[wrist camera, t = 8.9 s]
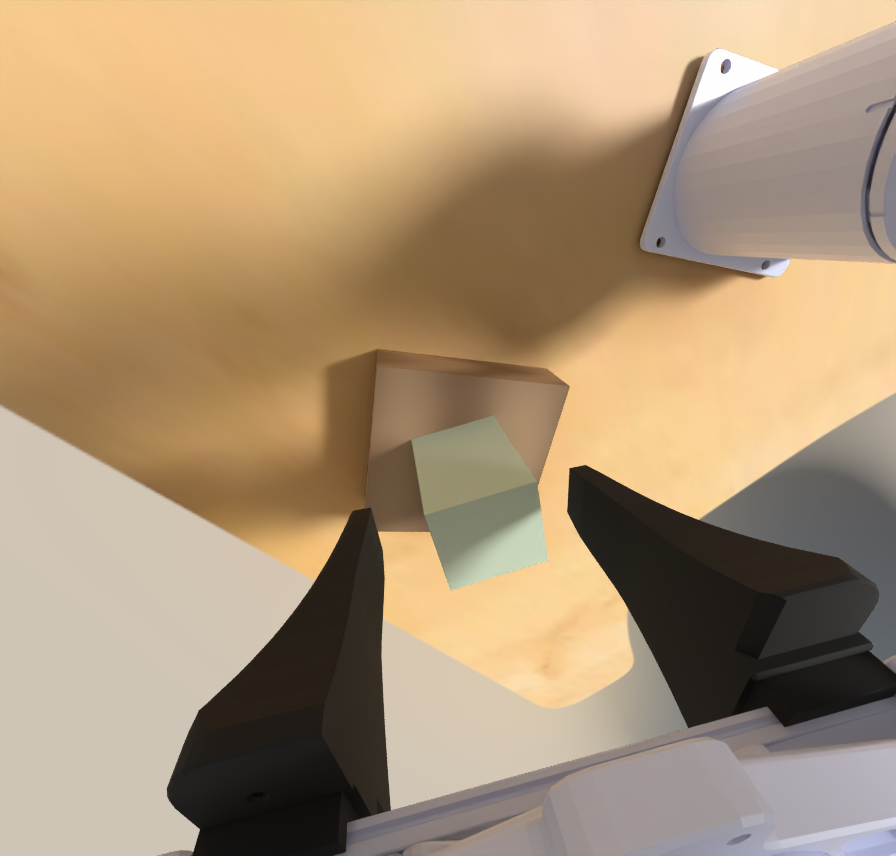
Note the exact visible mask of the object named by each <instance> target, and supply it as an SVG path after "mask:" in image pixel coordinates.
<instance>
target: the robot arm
mask: <svg viewBox="0 0 896 856" xmlns="http://www.w3.org/2000/svg"><path fill="white" fill-rule="evenodd" d="M722 63H723V65H724V71H723V73H721V71H720V67H721V64H722ZM659 238H660V240H661V242H660V245H659V246H658V247H657V245H656V243H657V240H658V239H659ZM640 247H641V249H642V250H644V251H647V252H652V253H657V254H662V255H667V256H671V257H676V258H681V259H686V260H691V261H696V262H701V263H705V264H710V265H715V266H720V267H725V268H730V269H735V270H739V271H744V272H749V273H754V274H759V275H764V276H769V277H778V276H780V275H781V274H782V273H783V272H784V271H785V269H786V268H787V266H788V264H789V262H790V260H791V259H804V260H826V261H847V262H868V263H890V264H896V21H895V22H893V23H891V24H888V25H886V26H884V27H881V28H879V29H876V30H874V31H872V32H869V33H867V34H865V35H862V36H860V37H857V38H855V39H853V40H850V41H848V42H846V43H843V44H841V45H838V46H836V47H834V48H831V49H829V50H827V51H824V52H822V53H819V54H817V55H815V56H812V57H810V58H808V59H805V60H803V61H800V62H798V63H796V64H793V65H791V66H789V67H786V68H784V69H781V70H778V69H775V68H773V67H770V66H767V65H765V64H762V63H759V62H756V61H754V60H751V59H748V58H746V57H743V56H740V55H737V54H735V53H732V52H729V51H727V50H724V49H721V48H717V49H715V50H713V51H711V52H710V53H708V54H707V55H706V56H705V57H704V58H703V60H702V62H701V65H700V68H699V71H698V74H697V77H696V80H695V82H694V85H693V88H692V91H691V94H690V97H689V100H688V103H687V106H686V108H685V111H684V114H683V117H682V120H681V123H680V126H679V129H678V132H677V135H676V137H675V140H674V143H673V146H672V149H671V152H670V155H669V158H668V161H667V163H666V166H665V169H664V172H663V175H662V178H661V181H660V184H659V187H658V189H657V192H656V195H655V198H654V201H653V204H652V207H651V210H650V213H649V216H648V218H647V221H646V224H645V227H644V230H643V233H642V236H641V239H640ZM763 262H764V264H763ZM762 264H763V266H762ZM567 512H568V514H569V516H570V518H571V520H572V522H573V524H574V526H575V528H576V530H577V532H578V534H579V536H580V537H581V539H582V540H583V542H584V543H585V545H586V546H587V548H588V549H589V550H590V552H591V553H592V555H593V556H594V558H595V559H596V561H597V562H598V563H599V565H600V566H601V568H602V569H603V571H604V572H605V573H606V575H607V576H608V578H609V579H610V581H611V582H612V583H613V585H614V586H615V588H616V589H617V591H618V592H619V594H620V596H621V597H622V599H623V600H624V602H625V604H626V606H627V607H628V609H629V611H630V613H631V615H632V616H633V618H634V620H635V622H636V623H637V625H638V627H639V629H640V631H641V633H642V634H643V636H644V638H645V640H646V642H647V644H648V646H649V648H650V650H651V651H652V653H653V655H654V657H655V659H656V661H657V663H658V665H659V667H660V669H661V671H662V673H663V675H664V677H665V679H666V681H667V683H668V685H669V688H670V689H671V692H672V694H673V696H674V698H675V700H676V702H677V705H678V706H679V709H680V711H681V713H682V715H683V717H684V720H685V722H686V724H687V726H688V728H687V729H684V730H681V731H676V732H673V733H669V734H666V735H662V736H659V737H655V738H651V739H648V740H644V741H641V742H637V743H633V744H629V745H626V746H622V747H619V748H615V749H611V750H608V751H604V752H601V753H597V754H593V755H590V756H586V757H583V758H580V759H575V760H572V761H568V762H565V763H561V764H557V765H554V766H550V767H546V768H543V769H539V770H536V771H532V772H528V773H525V774H521V775H518V776H514V777H510V778H507V779H503V780H499V781H496V782H492V783H489V784H486V785H481V786H478V787H474V788H471V789H467V790H464V791H460V792H456V793H453V794H449V795H445V796H442V797H438V798H435V799H431V800H428V801H424V802H420V803H416V804H413V805H409V806H406V807H402V808H399V809H395V810H391V807H390V795H389V782H388V769H387V753H386V737H385V721H384V703H383V682H382V660H381V642H382V622H383V603H384V580H385V577H384V561H383V550H382V546H381V542H380V539H379V535H378V531H377V528H376V524H375V520H374V517H373V513H372V509H371V508H365V509H360V510H355V511H353V512H352V513H351V515H350V517H349V519H348V522H347V524H346V526H345V528H344V530H343V532H342V534H341V536H340V538H339V540H338V542H337V544H336V546H335V548H334V550H333V552H332V553H331V555H330V557H329V559H328V561H327V563H326V564H325V566H324V567H323V569H322V571H321V572H320V574H319V576H318V577H317V579H316V581H315V582H314V584H313V585H312V587H311V589H310V590H309V591H308V593H307V594H306V596H305V597H304V598H303V600H302V601H301V603H300V604H299V605H298V607H297V608H296V609H295V611H294V612H293V613H292V615H291V616H290V617H289V618H288V620H287V621H286V622H285V623H284V625H283V626H282V627H281V628H280V630H279V631H278V632H277V633H276V634H275V636H274V637H273V638H272V639H271V640H270V641H269V642H268V644H267V645H266V646H265V647H264V648H263V649H262V650H261V651H260V652H259V653H258V654H257V655H256V657H254V659H253V660H252V661H251V662H250V663H249V664H248V665H247V666H246V667H245V668H244V669H243V670H242V671H241V672H240V673H239V674H238V675H237V676H236V677H235V678H234V679H233V680H232V681H231V682H229V683H228V684H227V685H226V686H225V687H224V688H223V689H222V690H221V691H220V692H219V693H218V694H217V695H216V696H214V697H213V698H212V699H211V700H210V701H209V702H208V703H207V704H206V705H205V706H204V707H202V708H201V709H200V710H199V711H198V714H197V716H196V718H195V720H194V722H193V724H192V726H191V729H190V730H189V733H188V735H187V738H186V740H185V743H184V745H183V747H182V750H181V753H180V755H179V758H178V761H177V763H176V766H175V769H174V771H173V774H172V776H171V779H170V782H169V784H168V787H167V796H168V799H169V801H170V802H171V804H172V805H173V806H174V808H175V809H176V810H178V811H179V812H180V813H181V814H182V815H184V816H185V817H186V818H187V819H188V820H190V821H191V822H192V823H193V824H194V825H196V826H197V827H198V828H199V829H200V832H199V835H198V838H197V842H196V845H195V848H194V852H192V851H183V850H181V851H174V852H169V853H166V854H162V855H158V856H896V655H895V656H892V657H890V658H888V659H887V660H885V661H884V662H881V661H880V660H879V659H878V658H877V657H875V656H874V655H873V654H872V653H871V652H869V650H871V649H872V648H873V645H872V643H871V642H870V641H869V640H868V639H867V638H865V637H864V636H863V635H861V634H860V633H859V632H858V631H859V630H860V628H861V627H862V626H863V624H864V623H865V621H866V620H867V618H868V617H869V615H870V614H871V612H872V611H873V609H874V607H875V605H876V604H877V602H878V597H879V590H878V588H877V586H876V584H875V583H874V582H872V581H871V580H869V579H868V578H867V577H865V576H864V575H862V574H861V573H860V572H858V571H857V570H855V569H854V568H852V567H851V566H849V565H848V564H847V563H845V562H844V561H842V560H841V559H839V558H837V557H833V556H828V555H823V554H818V553H813V552H809V551H804V550H799V549H794V548H790V547H785V546H781V545H778V544H774V543H770V542H766V541H762V540H758V539H754V538H751V537H748V536H744V535H741V534H738V533H735V532H731V531H728V530H725V529H722V528H719V527H716V526H713V525H710V524H708V523H705V522H702V521H700V520H697V519H695V518H692V517H690V516H687V515H684V514H682V513H680V512H677V511H675V510H673V509H670V508H668V507H666V506H664V505H662V504H660V503H657V502H655V501H653V500H651V499H649V498H647V497H645V496H643V495H641V494H639V493H637V492H635V491H633V490H631V489H629V488H628V487H626V486H624V485H622V484H620V483H618V482H616V481H615V480H613V479H611V478H609V477H607V476H605V475H604V474H602V473H600V472H598V471H596V470H594V469H592V468H590V467H588V466H586V465H584V466H579V467H574V468H570V472H569V490H568V508H567Z"/></svg>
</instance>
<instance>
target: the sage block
mask: <svg viewBox="0 0 896 856" xmlns="http://www.w3.org/2000/svg"><path fill="white" fill-rule="evenodd" d="M411 440H412V446H413V452H414V458H415V463H416V469H417V475H418V481H419V487H420V493H421V499H422V505H423V511H424V516H425V519H426V522H427V524H428V527H429V530H430V533H431V536H432V539H433V542H434V544H435V547H436V550H437V553H438V556H439V559H440V562H441V564H442V567H443V570H444V573H445V576H446V579H447V582H448V584H449V587H450V590H454V589H457V588H461V587H464V586H467V585H470V584H474V583H477V582H480V581H483V580H487V579H490V578H493V577H496V576H499V575H503V574H506V573H509V572H512V571H516V570H519V569H522V568H525V567H529V566H532V565H535V564H538V563H541V562H545V561H548V556H547V549H546V542H545V535H544V528H543V520H542V513H541V506H540V499H539V492H538V485H537V481H536V479H535V478H534V476H533V475H532V473H531V472H530V470H529V468H528V467H527V465H526V464H525V462H524V461H523V459H522V458H521V456H520V455H519V453H518V452H517V450H516V449H515V447H514V446H513V444H512V443H511V441H510V440H509V438H508V437H507V435H506V434H505V432H504V431H503V429H502V427H501V426H500V424H499V423H498V421H497V420H496V418H495V417H494V416H491V417H487V418H484V419H480V420H477V421H473V422H470V423H466V424H463V425H460V426H456V427H453V428H449V429H446V430H442V431H439V432H436V433H432V434H429V435H425V436H422V437H418V438H415V439H411Z"/></svg>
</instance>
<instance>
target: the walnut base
mask: <svg viewBox="0 0 896 856" xmlns="http://www.w3.org/2000/svg"><path fill="white" fill-rule="evenodd" d="M569 387H570V386H569V385H567V384H566V383H565V382H563V381H562V380H561V379H559V378H558V377H557V376H556V375H554V374H553V373H552V372H550V371H549V370H548V369H544V368H535V367H527V366H518V365H509V364H501V363H492V362H483V361H474V360H466V359H457V358H448V357H440V356H431V355H422V354H413V353H405V352H396V351H387V350H379V349H377V357H376V369H375V382H374V394H373V407H372V419H371V432H370V445H369V457H368V470H367V482H366V495H365V508H371V509H372V513H373V517H374V520H375V524H376V528H377V531H384V532H430V530H429V527H428V524H427V522H426V519H425V516H424V511H423V505H422V499H421V493H420V487H419V481H418V475H417V469H416V463H415V458H414V452H413V446H412V440H411V439H415V438H418V437H422V436H425V435H429V434H432V433H436V432H439V431H442V430H446V429H449V428H453V427H456V426H460V425H463V424H466V423H470V422H473V421H477V420H480V419H484V418H487V417H491V416H494V417H495V418H496V420H497V421H498V423H499V424H500V426H501V427H502V429H503V431H504V432H505V434H506V435H507V437H508V438H509V440H510V441H511V443H512V444H513V446H514V447H515V449H516V450H517V452H518V453H519V455H520V456H521V458H522V459H523V461H524V462H525V464H526V465H527V467H528V468H529V470H530V472H531V473H532V475H533V476H534V478H535V479H536V481H537V485H538V484H539V481H540V477H541V474H542V471H543V468H544V465H545V462H546V459H547V456H548V453H549V449H550V446H551V443H552V440H553V437H554V434H555V431H556V428H557V425H558V421H559V418H560V415H561V412H562V409H563V406H564V403H565V400H566V397H567V393H568V390H569Z"/></svg>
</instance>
